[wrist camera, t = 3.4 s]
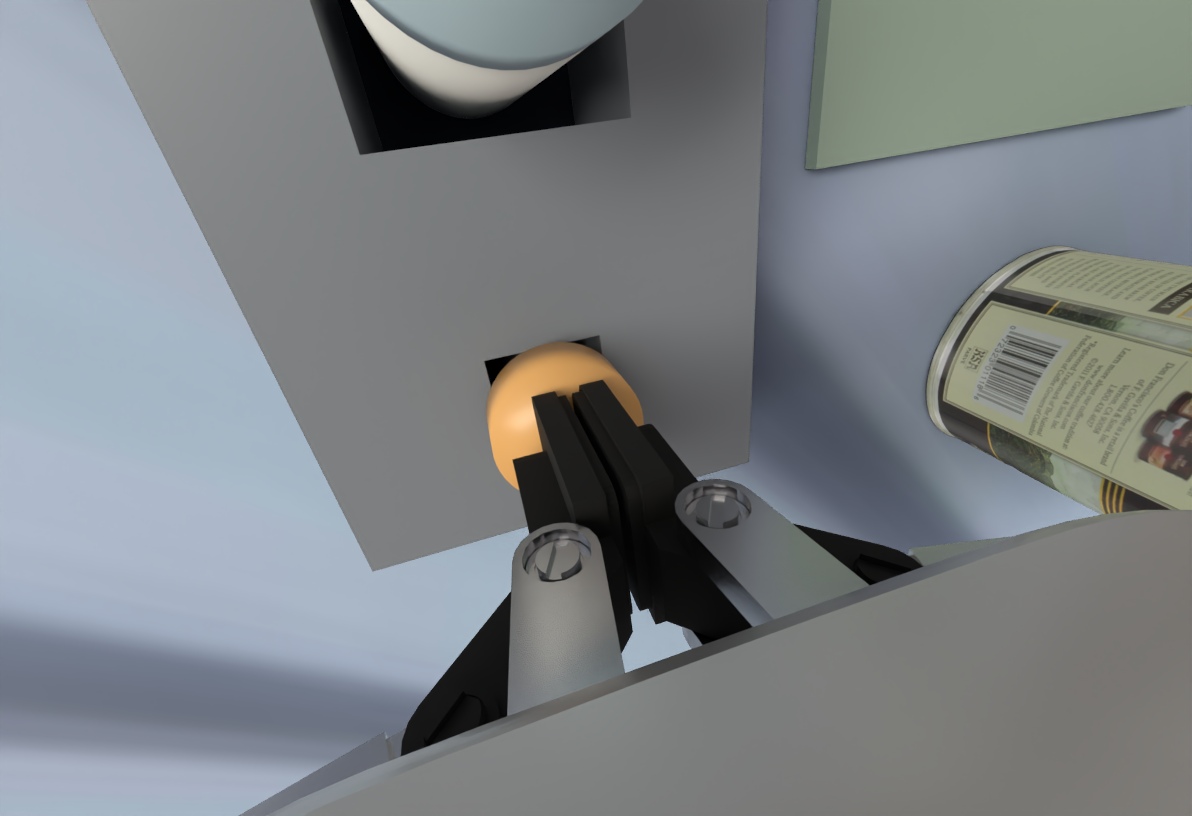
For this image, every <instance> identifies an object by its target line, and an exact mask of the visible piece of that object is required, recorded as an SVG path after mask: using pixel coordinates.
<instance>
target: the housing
mask: <svg viewBox="0 0 1192 816" xmlns="http://www.w3.org/2000/svg"><path fill="white" fill-rule="evenodd" d="M86 2H87V4H88V6H89V8H90V10H91V12H92V14H93V16H94V18H95V20H96V22H97V24H98V26H99V28H100V30H101V32H102V34H103V36H104V38H105V40H106V42H107V44H108V46H109V48H110V50H111V52H112V54H113V56H114V58H115V60H116V62H117V64H118V66H119V68H120V70H121V72H122V74H123V76H124V78H125V80H126V82H127V84H128V86H129V88H130V90H131V92H132V94H133V96H134V98H135V100H136V102H137V104H138V106H139V108H140V110H141V112H142V114H143V116H144V118H145V120H146V122H147V124H148V126H149V128H150V130H151V132H152V134H153V136H154V138H155V140H156V142H157V143H158V145H159V147H160V149H161V151H162V153H163V155H164V157H165V159H166V161H167V163H168V165H169V167H170V169H171V171H172V173H173V175H174V177H175V179H176V181H177V183H178V185H179V187H180V189H181V191H182V193H183V195H184V197H185V199H186V201H187V203H188V205H189V207H190V209H191V211H192V213H193V215H194V217H195V219H196V221H197V223H198V225H199V227H200V229H201V231H202V233H203V235H204V237H205V239H206V241H207V243H208V245H209V247H210V249H211V251H212V253H213V255H214V257H215V259H216V261H217V263H218V265H219V267H220V269H221V271H222V273H223V275H224V277H225V279H226V281H227V283H228V285H229V287H230V289H231V291H232V293H233V295H234V297H235V299H236V301H237V303H238V305H239V307H240V309H241V311H242V313H243V315H244V317H245V318H246V320H247V322H248V324H249V326H250V328H251V330H252V332H253V334H254V336H255V338H256V340H257V342H258V344H259V346H260V348H261V350H262V352H263V354H264V356H265V358H266V360H267V362H268V364H269V366H270V368H271V370H272V372H273V374H274V376H275V378H276V380H277V382H278V384H279V386H280V388H281V390H282V392H283V394H284V396H285V398H286V400H287V402H288V404H289V406H290V408H291V410H292V412H293V414H294V416H295V418H296V420H297V422H298V424H299V426H300V428H301V430H302V432H303V434H304V436H305V438H306V440H307V442H308V444H309V446H310V448H311V450H312V452H313V454H314V456H315V458H316V460H317V462H318V464H319V466H320V468H321V470H322V472H323V474H324V476H325V478H326V480H327V482H328V484H329V486H330V488H331V490H332V492H333V493H334V495H335V497H336V499H337V501H338V503H339V505H340V507H341V509H342V511H343V513H344V515H345V517H346V519H347V521H348V523H349V525H350V527H351V529H352V531H353V533H354V535H355V537H356V539H357V541H358V543H359V545H360V547H361V549H362V551H363V553H364V555H365V557H366V559H367V561H368V563H369V565H370V567H371V569H372V571H376V570H380V569H383V568H387V567H390V566H394V565H397V564H400V563H404V562H407V561H411V560H414V559H418V558H421V557H424V556H428V555H431V554H435V553H438V552H442V551H445V550H448V549H452V548H455V547H459V546H462V545H466V544H469V543H473V542H476V541H479V540H483V539H486V538H490V537H493V536H497V535H500V534H503V533H507V532H510V531H514V530H517V529H521V528H524V527H527V526H528V525H527V521H526V517H525V512H524V508H523V504H522V499H521V495H520V491H519V490H518V489H516V488H515V487H513V486H512V485H511V484H510V483H509V482H508V481H507V480H506V479H505V478H504V477H503V475H502V474H501V473H500V471H499V469H498V467H497V465H496V463H495V460H494V457H493V452H492V446H491V441H490V435H489V429H488V424H487V418H486V405H487V399H488V395H489V391H490V389H491V387H492V381H491V377H490V373H489V369H488V365H487V362H486V360H491V359H495V358H500V357H504V356H509V355H513V354H518V353H522V352H525V351H526V350H529V349H531V348H533V347H536V346H539V345H543V344H547V343H553V342H570V343H576V344H581V345H584V346H586V347H589V348H591V349H593V350H595V351H597V352H599V353H600V354H601V355H602V356H604V357H605V358H606V359H607V360H608V361H609V362H610V363H611V364H612V365H613V367H614V368H615V369H616V370H617V371H618V373H619V374H620V375H621V376H622V377H623V379H624V380H625V381H626V382H627V384H628V385H629V386H630V387H631V389H632V390H633V391H634V393H635V394H636V396H637V398H638V400H639V402H640V405H641V408H642V412H643V420H644V425H645V424H652V425H653V426H654V427H655V428H656V429H657V430H658V432H659V433H660V434H661V435H662V437H663V438H664V439H665V440H666V442H667V443H668V444H669V445H670V447H671V448H672V449H673V450H674V452H675V453H676V454H677V455H678V457H679V458H680V459H681V460H682V462H683V463H684V464H685V465H686V467H687V468H688V469H689V470H690V472H691V473H692V474H693V476H694V477H695V478H696V477H699V476H702V475H706V474H709V473H713V472H716V471H720V470H723V469H726V468H730V467H733V466H737V465H740V464H744V463H747V462H749V450H750V425H751V400H752V375H753V350H754V325H755V300H756V275H757V250H758V225H759V200H760V175H761V150H762V125H763V100H764V75H765V50H766V25H767V0H643V1H642V2H641V3H640V4H639V5H638V7H637V8H636V9H635V10H634V11H633V12H632V13H631V14H629V15H628V16H627V17H626V18H624V19H623V20H622V21H621V22H619V23H618V24H617V25H616V26H614V27H613V28H612V29H611V30H609V31H608V32H607V33H605V34H604V35H603V36H601V37H600V38H599V39H597V40H596V41H595V42H593V43H592V44H591V45H589V46H588V47H587V48H585V49H584V50H583V51H581V52H580V53H579V54H577V55H576V56H575V57H573V58H572V59H571V60H569V61H568V62H567V65H568V73H569V81H570V89H571V97H572V105H573V113H574V121H575V125H574V126H567V127H560V128H552V129H545V130H538V131H531V132H523V133H516V134H509V135H502V136H494V137H487V138H480V139H473V140H465V141H458V142H451V143H444V144H436V145H429V146H422V147H415V148H407V149H400V150H393V151H386V152H384V151H383V147H382V144H381V141H380V138H379V134H378V131H377V128H376V124H375V121H374V118H373V114H372V111H371V108H370V104H369V101H368V98H367V94H366V91H365V88H364V85H363V81H362V78H361V75H360V71H359V68H358V65H357V61H356V58H355V55H354V51H353V48H352V45H351V41H350V38H349V35H348V31H347V28H346V25H345V22H344V18H343V15H342V12H341V8H340V5H339V2H338V0H86Z"/></svg>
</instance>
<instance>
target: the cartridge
mask: <svg viewBox="0 0 1192 816" xmlns="http://www.w3.org/2000/svg"><path fill="white" fill-rule="evenodd" d="M642 1H643V0H351V2H352V4H353V6H354V7H355V9H356V11H357V13H358V14H359V16H360V18H361V20H362V21H363V23H364V25H365V26H366V28H367V30H368V32H369V33H370V35H371V37H372V39H373V40H374V42H375V44H376V46H377V47H378V49H379V51H380V53H381V54H382V56H383V58H384V60H385V61H386V63H387V65H388V66H389V68H390V70H391V71H392V72H393V74H394V75H395V77H396V78H397V79H398V81H399V82H400V83H401V84H402V85H403V86H404V87H405V88H406V89H407V90H408V91H409V92H410V93H411V94H412V95H413V96H414V97H415V98H417V99H418V100H419V101H421V102H422V103H424V104H425V105H426V106H428V107H430V108H432V109H434V110H436V111H438V112H440V113H443V114H445V115H448V116H453V117H457V118H465V119H475V118H482V117H487V116H490V115H493V114H496V113H498V112H500V111H502V110H503V109H505V108H507V107H508V106H509V105H511V104H512V103H513V102H515V101H516V100H517V99H519V98H520V97H521V96H523V95H524V94H525V93H527V92H528V91H529V90H531V89H532V88H533V87H535V86H536V85H537V84H539V83H540V82H541V81H543V80H544V79H545V78H547V77H548V76H549V75H551V74H552V73H553V72H555V71H556V70H557V69H559V68H560V67H561V66H563V65H564V64H565V63H567V62H568V61H569V60H571V59H572V58H573V57H575V56H576V55H577V54H579V53H580V52H581V51H583V50H584V49H585V48H587V47H588V46H589V45H591V44H592V43H593V42H595V41H596V40H597V39H599V38H600V37H601V36H603V35H604V34H605V33H607V32H608V31H609V30H611V29H612V28H613V27H614V26H616V25H617V24H618V23H619V22H621V21H622V20H623V19H624V18H626V17H627V16H628V15H629V14H631V13H632V12H633V11H634V10H635V9H636V8H637V7H638V5H639V4H640V3H641V2H642Z"/></svg>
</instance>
